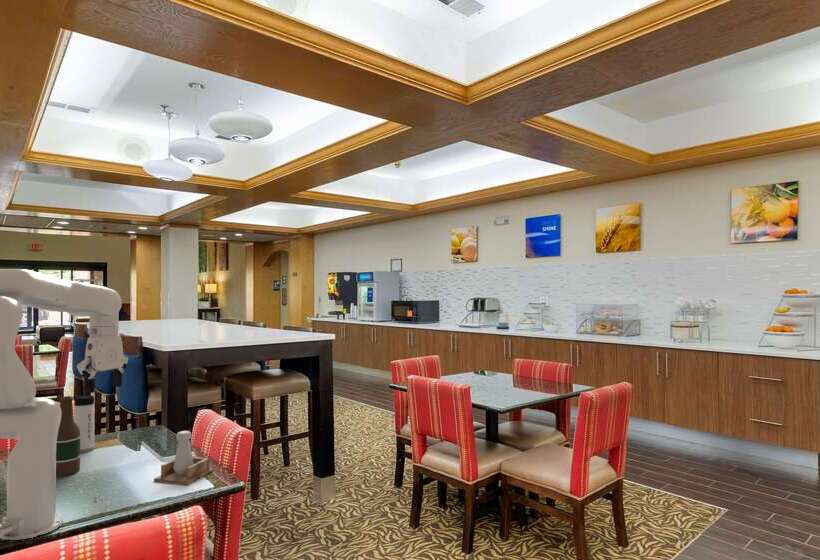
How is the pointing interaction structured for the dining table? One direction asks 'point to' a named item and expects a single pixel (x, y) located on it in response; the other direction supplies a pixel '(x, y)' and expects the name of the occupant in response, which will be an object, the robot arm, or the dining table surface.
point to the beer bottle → (67, 441)
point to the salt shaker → (183, 453)
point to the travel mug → (85, 420)
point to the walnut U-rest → (192, 474)
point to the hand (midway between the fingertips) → (103, 389)
